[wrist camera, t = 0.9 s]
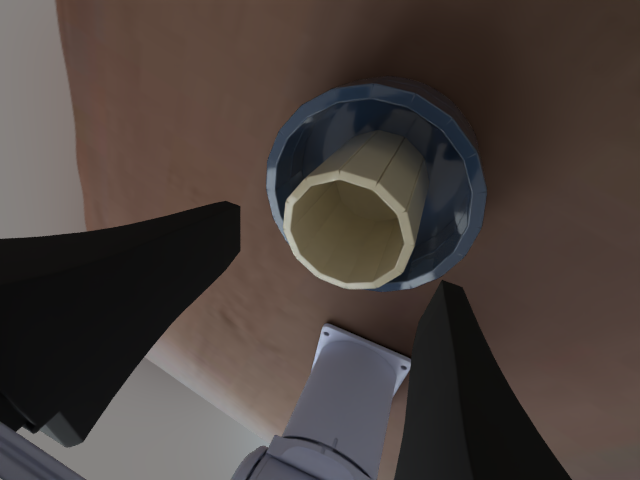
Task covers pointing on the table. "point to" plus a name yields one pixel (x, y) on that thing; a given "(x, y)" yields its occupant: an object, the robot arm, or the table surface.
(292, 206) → the small pot
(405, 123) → the big pot
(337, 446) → the robot arm
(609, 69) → the table surface
